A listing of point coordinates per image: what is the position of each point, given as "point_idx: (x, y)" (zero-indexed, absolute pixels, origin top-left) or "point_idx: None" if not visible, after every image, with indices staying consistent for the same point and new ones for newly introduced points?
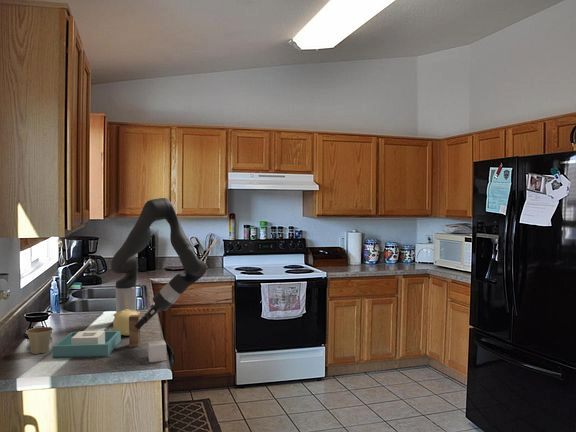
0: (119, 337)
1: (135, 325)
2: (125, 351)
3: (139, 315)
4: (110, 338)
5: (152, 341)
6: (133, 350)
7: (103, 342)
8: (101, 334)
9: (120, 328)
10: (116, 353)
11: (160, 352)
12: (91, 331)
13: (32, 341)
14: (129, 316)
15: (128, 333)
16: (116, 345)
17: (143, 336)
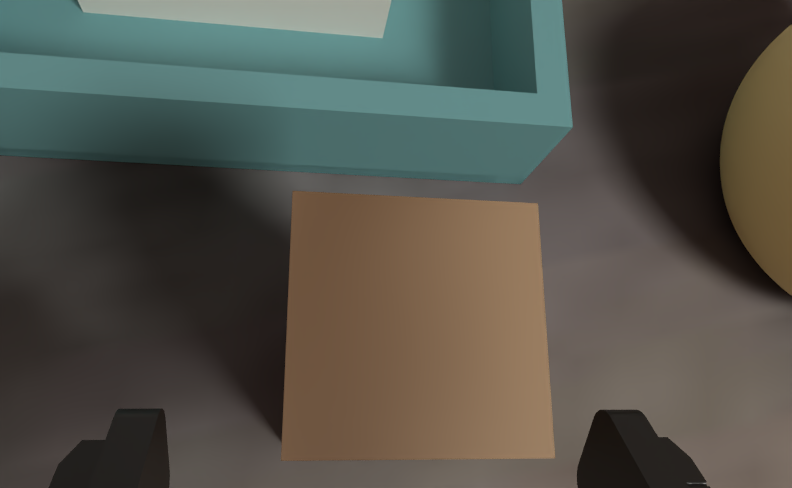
0: (484, 154)
1: (113, 423)
2: (72, 318)
3: (495, 458)
4: (503, 58)
5: None
6: (96, 416)
7: (316, 10)
8: None
9: (746, 104)
10: (7, 224)
11: None
12: None
13: None
14: (352, 197)
15: (735, 224)
16: (316, 167)
17: (739, 415)
